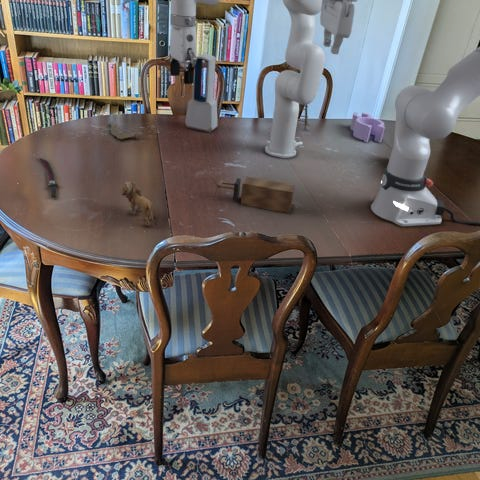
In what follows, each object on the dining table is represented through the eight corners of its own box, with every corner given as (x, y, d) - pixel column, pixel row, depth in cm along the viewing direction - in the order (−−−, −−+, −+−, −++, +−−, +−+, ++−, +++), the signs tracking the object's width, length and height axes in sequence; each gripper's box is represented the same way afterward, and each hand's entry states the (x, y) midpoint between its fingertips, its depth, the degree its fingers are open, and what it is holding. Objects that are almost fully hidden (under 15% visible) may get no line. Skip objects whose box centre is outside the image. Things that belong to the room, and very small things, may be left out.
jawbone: (125, 144, 181) (124, 139, 180) (93, 130, 191) (92, 125, 190) (143, 137, 187) (142, 132, 185) (111, 123, 197) (110, 119, 196)
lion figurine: (118, 210, 138) (116, 182, 133) (132, 204, 141) (131, 177, 137) (151, 229, 130) (150, 201, 126) (165, 223, 134) (165, 195, 129)
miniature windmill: (305, 130, 213) (317, 61, 197) (287, 127, 214) (297, 59, 198) (307, 124, 220) (318, 57, 204) (289, 121, 221) (299, 55, 205)
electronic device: (217, 128, 204) (222, 56, 188) (211, 133, 198) (215, 59, 182) (191, 123, 207) (194, 51, 191) (184, 127, 201) (186, 54, 185)
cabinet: (240, 204, 148) (242, 183, 144) (244, 197, 153) (246, 176, 149) (289, 213, 146) (292, 192, 142) (291, 205, 150) (294, 185, 146)
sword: (61, 197, 141) (61, 193, 140) (50, 198, 139) (50, 194, 139) (49, 160, 164) (48, 156, 163) (39, 160, 163) (39, 157, 162)
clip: (343, 126, 223) (346, 112, 219) (367, 127, 225) (371, 113, 221) (360, 142, 206) (364, 127, 202) (386, 142, 209) (390, 127, 205)
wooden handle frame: (215, 196, 149) (216, 180, 146) (219, 190, 153) (220, 175, 150) (277, 208, 147) (280, 191, 144) (279, 202, 150) (282, 186, 147)
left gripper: (207, 26, 136) (204, 86, 145) (181, 16, 148) (180, 72, 157) (184, 26, 132) (183, 87, 142) (159, 16, 144) (159, 73, 153)
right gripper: (364, -3, 109) (351, 59, 116) (343, -11, 126) (333, 43, 133) (338, -6, 108) (327, 57, 115) (320, -14, 125) (311, 41, 133)
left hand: (181, 79), depth 149 cm, fingers open, 9 cm apart
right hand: (330, 49), depth 124 cm, fingers open, 8 cm apart
